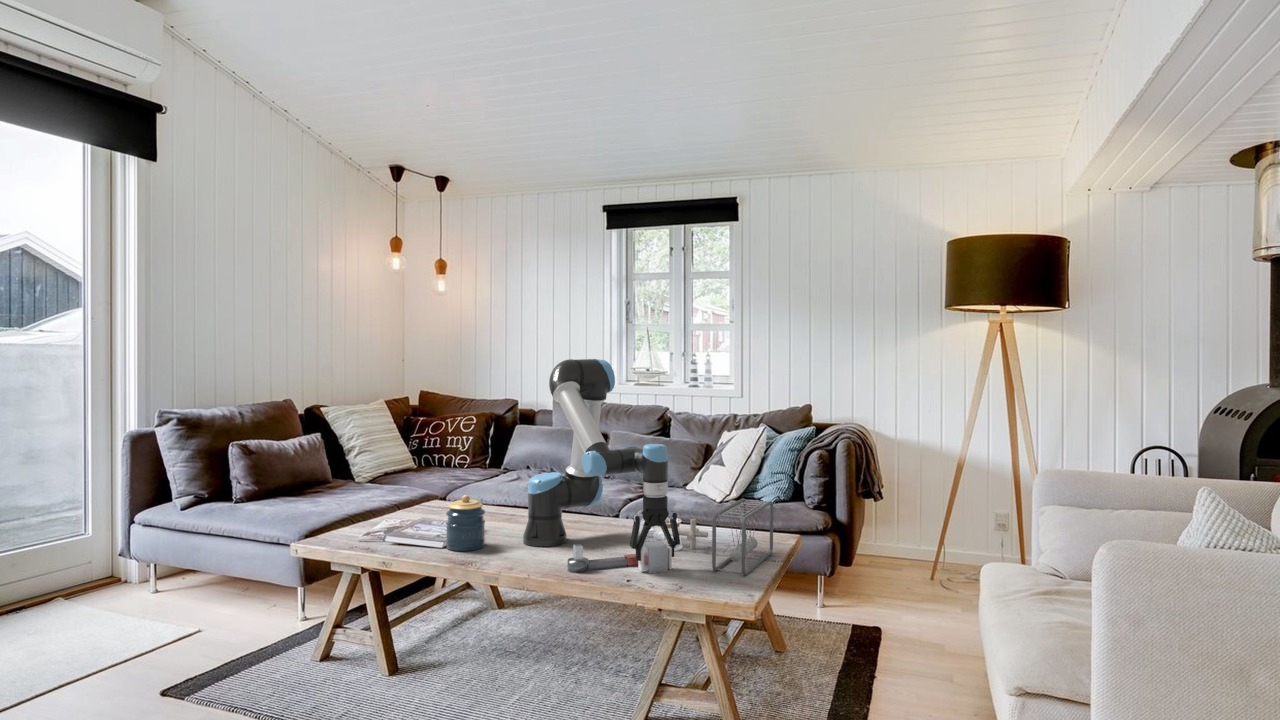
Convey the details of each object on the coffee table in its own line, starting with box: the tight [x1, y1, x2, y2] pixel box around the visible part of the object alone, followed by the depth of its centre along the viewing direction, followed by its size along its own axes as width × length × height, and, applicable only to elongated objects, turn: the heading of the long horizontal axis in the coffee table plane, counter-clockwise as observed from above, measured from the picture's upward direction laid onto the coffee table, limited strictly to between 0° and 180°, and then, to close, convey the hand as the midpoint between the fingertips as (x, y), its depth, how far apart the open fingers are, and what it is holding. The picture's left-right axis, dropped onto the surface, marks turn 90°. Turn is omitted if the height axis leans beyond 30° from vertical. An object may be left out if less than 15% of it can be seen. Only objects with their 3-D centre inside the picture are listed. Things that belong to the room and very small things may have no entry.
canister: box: [445, 494, 486, 552], centre depth 250 cm, size 13×13×18 cm
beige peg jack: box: [678, 518, 709, 550], centre depth 248 cm, size 10×10×10 cm
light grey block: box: [642, 540, 669, 574], centre depth 224 cm, size 6×6×8 cm
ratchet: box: [567, 543, 638, 574], centre depth 228 cm, size 6×27×8 cm, turn 110°
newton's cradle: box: [711, 497, 774, 577], centre depth 233 cm, size 30×10×18 cm, turn 153°
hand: (655, 569), depth 224 cm, fingers open, 8 cm apart
